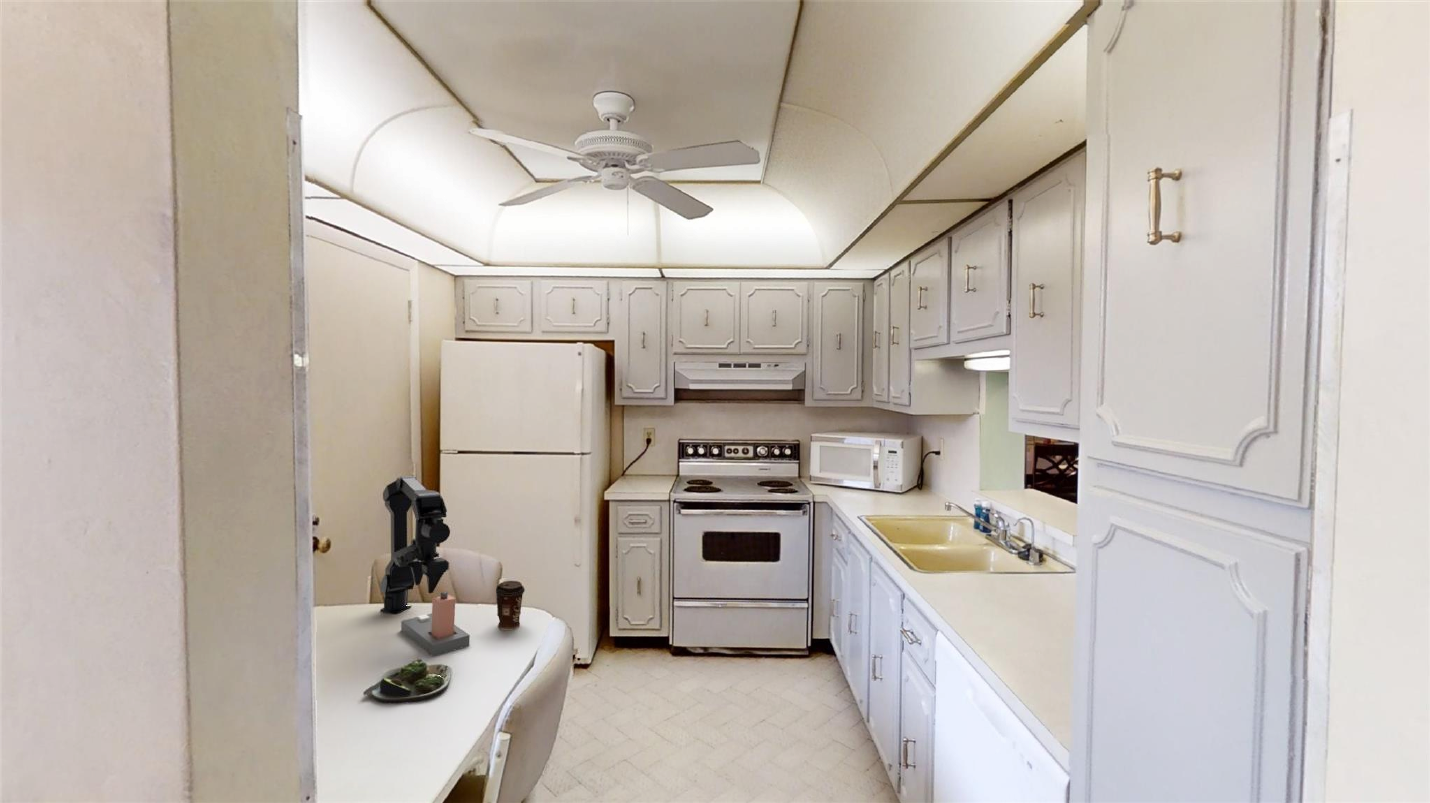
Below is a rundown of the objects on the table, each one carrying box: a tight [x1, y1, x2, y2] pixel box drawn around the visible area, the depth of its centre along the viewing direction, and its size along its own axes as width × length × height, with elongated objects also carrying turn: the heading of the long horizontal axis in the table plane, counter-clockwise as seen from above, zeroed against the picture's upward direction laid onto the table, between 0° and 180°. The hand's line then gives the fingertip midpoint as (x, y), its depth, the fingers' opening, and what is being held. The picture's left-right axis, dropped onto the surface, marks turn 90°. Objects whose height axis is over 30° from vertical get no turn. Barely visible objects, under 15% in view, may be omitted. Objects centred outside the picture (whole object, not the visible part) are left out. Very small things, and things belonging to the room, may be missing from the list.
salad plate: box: [363, 658, 453, 704], centre depth 144 cm, size 19×18×5 cm
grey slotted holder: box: [400, 613, 471, 657], centre depth 169 cm, size 22×10×4 cm, turn 48°
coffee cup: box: [495, 580, 526, 631], centre depth 180 cm, size 9×8×13 cm
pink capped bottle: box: [431, 591, 456, 640], centre depth 166 cm, size 4×4×14 cm
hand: (424, 588), depth 172 cm, fingers open, 9 cm apart
